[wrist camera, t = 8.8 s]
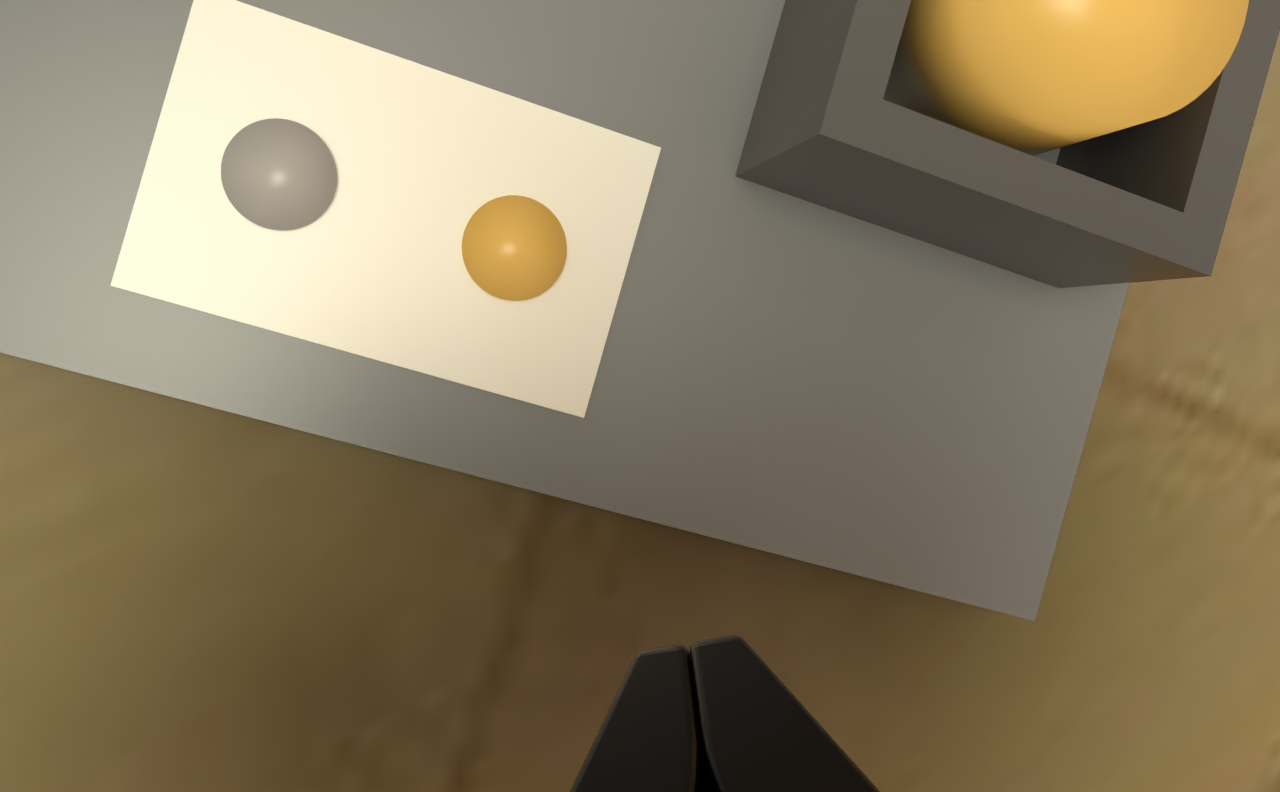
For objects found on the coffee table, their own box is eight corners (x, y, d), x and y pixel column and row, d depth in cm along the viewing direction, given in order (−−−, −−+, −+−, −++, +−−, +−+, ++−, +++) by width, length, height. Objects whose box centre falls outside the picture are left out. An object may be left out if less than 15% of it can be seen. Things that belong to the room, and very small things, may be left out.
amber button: (1039, 200, 20) (1204, 164, 16) (831, 124, 19) (949, 64, 15) (1102, -22, 20) (1284, -117, 16) (898, -110, 19) (1035, -235, 15)
